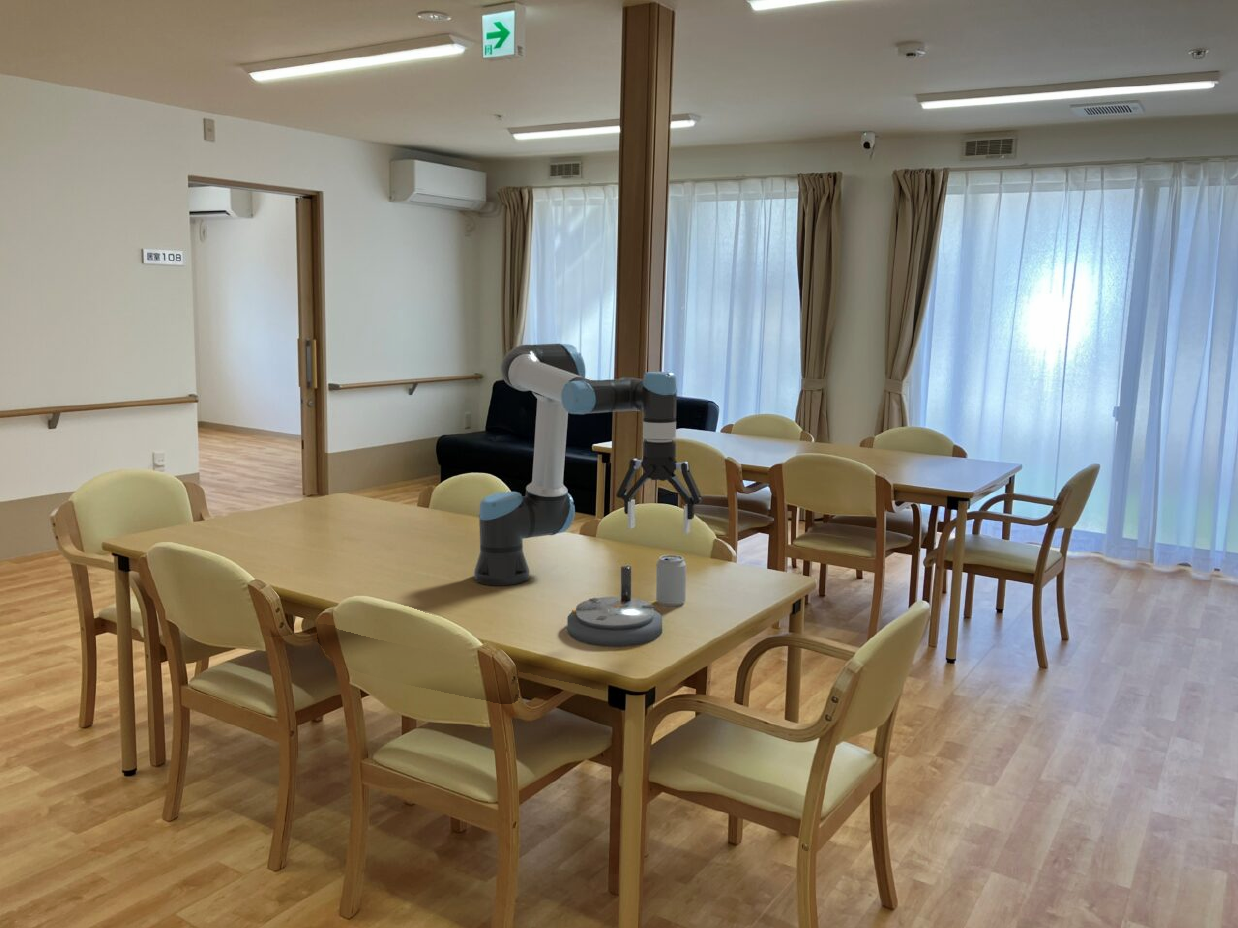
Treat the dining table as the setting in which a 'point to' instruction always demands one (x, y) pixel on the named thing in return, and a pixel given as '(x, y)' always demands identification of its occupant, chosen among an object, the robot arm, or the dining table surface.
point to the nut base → (614, 633)
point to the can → (671, 580)
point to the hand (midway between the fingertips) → (658, 530)
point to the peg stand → (616, 609)
